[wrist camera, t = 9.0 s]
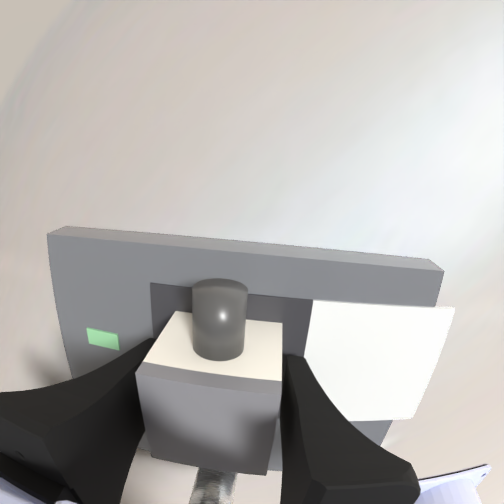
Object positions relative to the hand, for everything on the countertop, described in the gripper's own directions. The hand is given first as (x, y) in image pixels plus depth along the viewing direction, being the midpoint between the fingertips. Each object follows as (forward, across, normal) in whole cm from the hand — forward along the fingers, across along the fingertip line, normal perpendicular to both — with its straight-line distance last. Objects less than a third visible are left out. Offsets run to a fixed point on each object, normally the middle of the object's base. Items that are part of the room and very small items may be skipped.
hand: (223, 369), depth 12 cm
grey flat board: (+2, 0, +2) cm, 3 cm away
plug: (+1, 0, 0) cm, 1 cm away
